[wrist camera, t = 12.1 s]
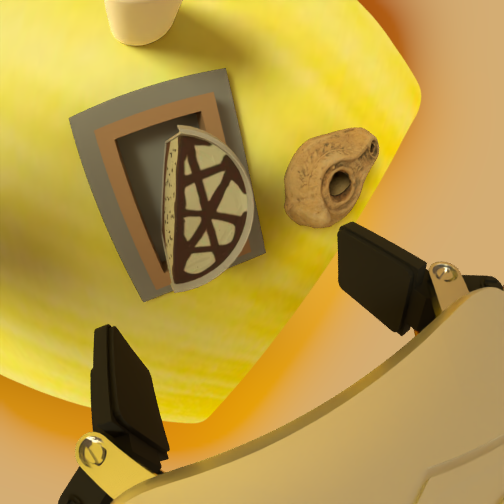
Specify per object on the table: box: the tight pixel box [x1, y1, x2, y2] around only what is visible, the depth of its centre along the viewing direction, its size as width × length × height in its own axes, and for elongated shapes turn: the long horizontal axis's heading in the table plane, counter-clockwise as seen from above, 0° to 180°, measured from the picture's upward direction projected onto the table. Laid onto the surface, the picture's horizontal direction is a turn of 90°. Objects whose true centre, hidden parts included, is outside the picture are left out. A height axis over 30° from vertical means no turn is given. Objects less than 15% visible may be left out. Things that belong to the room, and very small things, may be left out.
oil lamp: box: [284, 128, 379, 228], centre depth 29 cm, size 11×15×8 cm
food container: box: [161, 125, 254, 293], centre depth 22 cm, size 12×6×10 cm, turn 172°
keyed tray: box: [69, 68, 266, 302], centre depth 25 cm, size 16×22×4 cm
